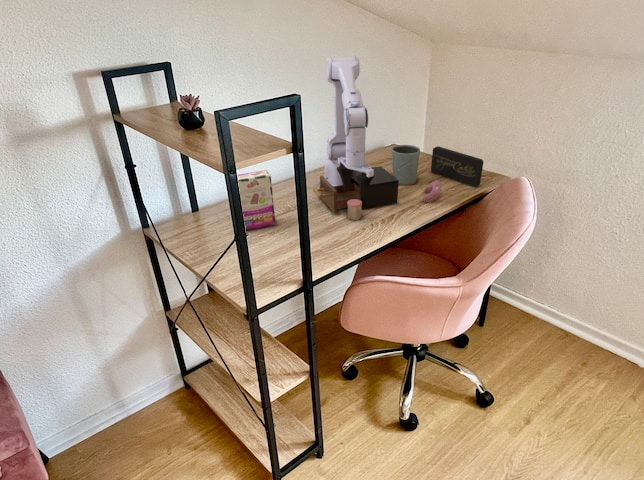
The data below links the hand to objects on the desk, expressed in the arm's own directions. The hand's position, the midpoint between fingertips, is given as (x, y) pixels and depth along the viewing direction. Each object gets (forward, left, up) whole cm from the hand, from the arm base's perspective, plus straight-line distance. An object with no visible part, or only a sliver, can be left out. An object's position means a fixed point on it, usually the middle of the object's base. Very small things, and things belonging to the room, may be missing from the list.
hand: (354, 192), depth 152 cm
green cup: (-4, +35, -9) cm, 37 cm away
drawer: (-10, +5, -8) cm, 14 cm away
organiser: (-4, +14, -9) cm, 17 cm away
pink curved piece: (+12, +28, -9) cm, 32 cm away
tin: (0, 0, -9) cm, 9 cm away
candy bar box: (-20, -24, -9) cm, 32 cm away
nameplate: (+10, +48, -9) cm, 50 cm away
